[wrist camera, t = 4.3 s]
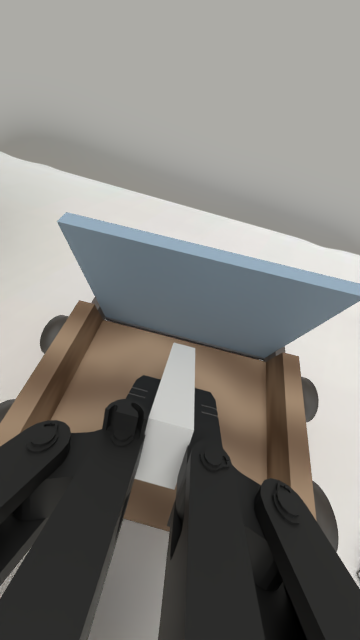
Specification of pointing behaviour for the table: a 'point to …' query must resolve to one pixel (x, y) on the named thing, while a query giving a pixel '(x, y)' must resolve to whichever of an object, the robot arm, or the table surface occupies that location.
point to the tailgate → (201, 289)
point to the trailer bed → (210, 375)
